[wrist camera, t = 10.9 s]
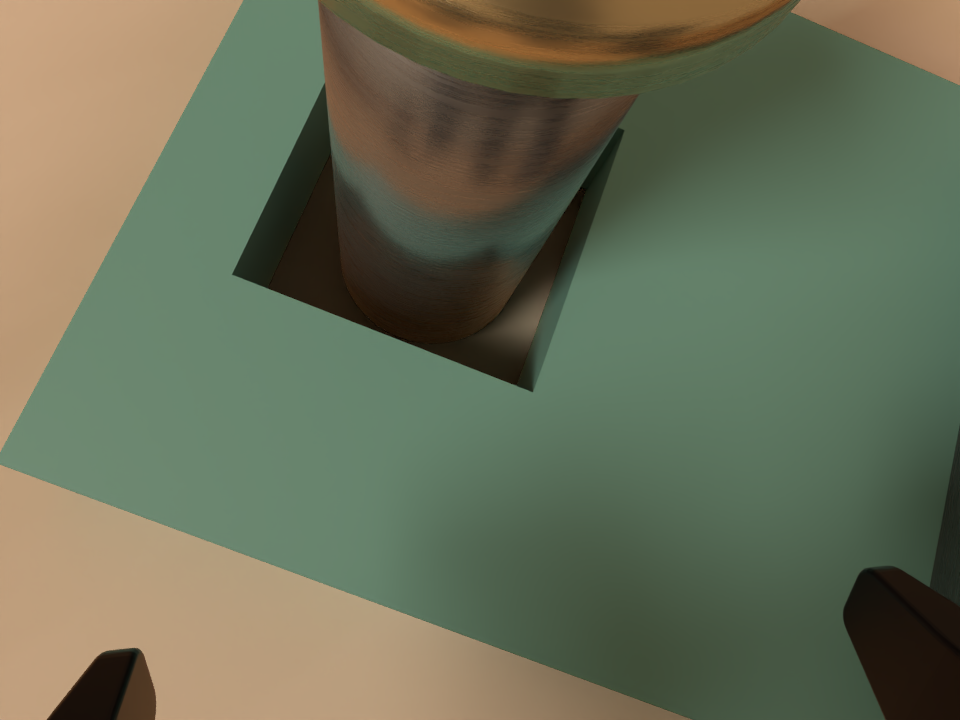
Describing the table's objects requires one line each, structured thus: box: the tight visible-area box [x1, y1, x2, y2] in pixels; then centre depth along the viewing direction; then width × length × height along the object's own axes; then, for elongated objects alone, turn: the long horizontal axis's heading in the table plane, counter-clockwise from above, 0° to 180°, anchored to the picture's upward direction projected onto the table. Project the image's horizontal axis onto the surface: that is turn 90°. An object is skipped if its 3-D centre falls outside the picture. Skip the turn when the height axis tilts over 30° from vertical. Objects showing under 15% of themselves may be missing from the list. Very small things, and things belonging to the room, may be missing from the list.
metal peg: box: [318, 0, 800, 343], centre depth 12 cm, size 6×6×13 cm
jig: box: [0, 0, 960, 720], centre depth 16 cm, size 20×16×5 cm
